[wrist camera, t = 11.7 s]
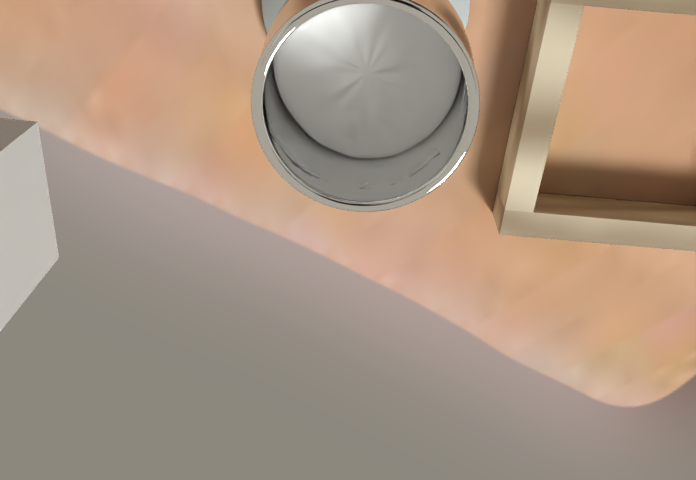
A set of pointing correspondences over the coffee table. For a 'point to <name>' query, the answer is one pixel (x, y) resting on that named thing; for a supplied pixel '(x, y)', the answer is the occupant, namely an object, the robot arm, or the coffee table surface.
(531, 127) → the frame
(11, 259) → the robot arm
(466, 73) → the silver tall cylindrical piece
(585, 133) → the coffee table surface
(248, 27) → the coffee table surface
